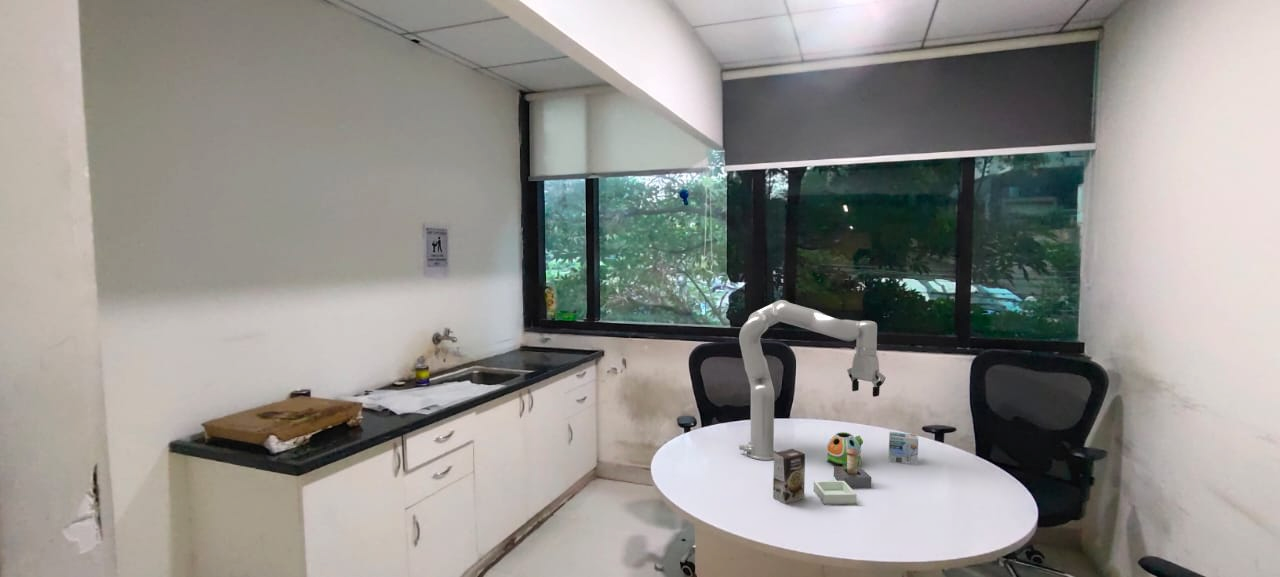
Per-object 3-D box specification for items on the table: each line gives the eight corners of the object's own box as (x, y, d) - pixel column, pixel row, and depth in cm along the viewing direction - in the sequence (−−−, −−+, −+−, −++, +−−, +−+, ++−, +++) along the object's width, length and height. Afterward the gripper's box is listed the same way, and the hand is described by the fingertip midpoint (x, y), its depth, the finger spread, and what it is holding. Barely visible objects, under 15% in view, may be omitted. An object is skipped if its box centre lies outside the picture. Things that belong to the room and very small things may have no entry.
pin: (848, 485, 201) (849, 453, 200) (843, 479, 205) (844, 448, 204) (860, 484, 201) (860, 453, 200) (855, 479, 205) (856, 448, 204)
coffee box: (785, 504, 186) (785, 458, 185) (772, 497, 191) (772, 452, 190) (805, 498, 190) (805, 453, 189) (792, 491, 196) (792, 447, 194)
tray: (824, 504, 185) (824, 494, 185) (813, 490, 196) (813, 481, 196) (856, 504, 185) (856, 494, 185) (843, 490, 196) (844, 480, 196)
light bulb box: (888, 462, 222) (889, 436, 221) (888, 456, 228) (888, 431, 228) (918, 465, 218) (919, 439, 217) (916, 459, 224) (917, 434, 224)
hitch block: (843, 488, 198) (843, 477, 198) (833, 476, 208) (833, 466, 208) (871, 488, 198) (871, 477, 198) (859, 476, 208) (859, 466, 208)
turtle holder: (874, 462, 222) (875, 433, 221) (845, 472, 212) (845, 442, 211) (848, 453, 232) (849, 425, 231) (819, 461, 223) (820, 433, 222)
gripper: (842, 349, 225) (841, 390, 226) (879, 356, 210) (878, 399, 211) (854, 347, 229) (853, 387, 230) (891, 354, 214) (890, 397, 215)
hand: (865, 393), depth 221 cm, fingers open, 9 cm apart
